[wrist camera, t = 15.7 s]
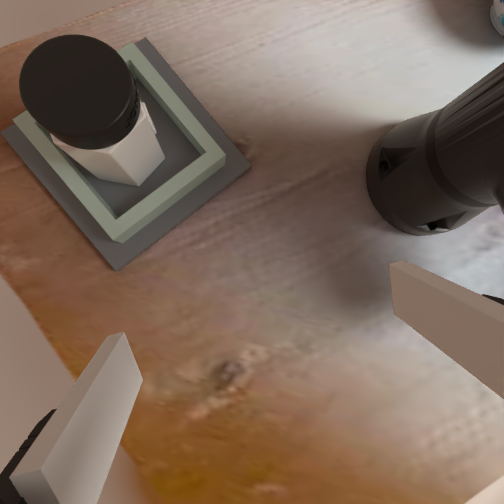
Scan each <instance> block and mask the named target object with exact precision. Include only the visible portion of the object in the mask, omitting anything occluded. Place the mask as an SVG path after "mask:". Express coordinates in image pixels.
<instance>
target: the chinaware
mask: <svg viewBox="0 0 504 504" xmlns="http://www.w3.org/2000/svg"><path fill="white" fill-rule="evenodd" d="M493 2H494V3H493V5H492V7H491V11H490V17H491V21H492V24H493V26H494V28H495V29H496V30H497V31H498V32H499V33H500V34H501V35H503V36H504V0H493Z"/></svg>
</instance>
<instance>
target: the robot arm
mask: <svg viewBox="0 0 504 504" xmlns="http://www.w3.org/2000/svg"><path fill="white" fill-rule="evenodd" d="M366 180H367V187H368V191H369V194H370V197H371V200H372V202H373V204H374V205H375V207H376V209H377V210H378V212H379V213H380V214H381V215H382V216H383V218H384V219H385V220H386V221H388V222H389V223H390V224H391V225H393V226H394V227H396V228H398V229H399V230H402V231H404V232H407V233H410V234H414V235H433V234H438V233H444V232H448V231H451V230H453V229H456V228H458V227H460V226H462V225H463V224H465V223H466V222H468V221H469V220H471V219H472V218H474V217H475V216H477V215H478V214H480V213H481V212H483V211H484V210H486V209H487V208H489V207H491V206H494V205H498V204H499V205H500V207H501V209H502V212H503V213H504V63H502V64H501V65H500V66H498V67H497V68H496V69H494V70H493V71H492V72H490V73H489V74H488V75H486V76H485V77H484V78H482V79H481V80H480V81H478V82H477V83H476V84H474V85H473V86H472V87H470V88H469V89H468V90H466V91H465V92H464V93H462V94H461V95H460V96H458V97H457V98H456V99H454V100H453V101H452V102H450V103H449V104H448V105H446V106H445V107H444V108H442V109H439V110H436V111H433V112H430V113H426V114H423V115H420V116H417V117H414V118H411V119H408V120H405V121H403V122H401V123H400V124H398V125H396V126H395V127H394V128H392V129H391V130H390V131H389V132H387V133H386V134H385V135H384V136H383V137H382V138H381V139H380V140H379V141H378V142H377V143H376V145H375V146H374V148H373V150H372V152H371V154H370V157H369V160H368V164H367V171H366ZM389 270H390V280H391V291H392V301H393V311H394V314H395V315H397V316H398V317H399V318H400V319H402V320H403V321H404V322H406V323H407V324H408V325H409V326H411V327H412V328H413V329H414V330H416V331H417V332H418V333H420V334H421V335H422V336H423V337H425V338H426V339H427V340H429V341H430V342H431V343H432V344H434V345H435V346H436V347H438V348H439V349H440V350H441V351H443V352H444V353H445V354H447V355H448V356H449V357H450V358H452V359H453V360H454V361H456V362H457V363H458V364H459V365H461V366H462V367H463V368H464V369H466V370H467V371H468V372H470V373H471V374H472V375H473V376H475V377H476V378H477V379H479V380H480V381H481V382H482V383H484V384H485V385H486V386H488V387H489V388H490V389H491V390H493V391H494V392H495V393H497V394H498V395H499V396H500V397H502V398H503V399H504V299H501V298H497V297H493V296H489V295H485V294H483V295H480V294H478V293H475V292H473V291H471V290H469V289H466V288H464V287H462V286H460V285H458V284H455V283H453V282H451V281H449V280H447V279H444V278H442V277H440V276H438V275H435V274H433V273H431V272H429V271H427V270H424V269H422V268H420V267H418V266H416V265H413V264H411V263H409V262H407V261H404V260H402V261H398V262H394V263H390V264H389ZM142 381H143V379H142V376H141V374H140V371H139V368H138V366H137V363H136V361H135V358H134V356H133V353H132V351H131V348H130V345H129V343H128V340H127V338H126V335H125V333H124V332H120V333H116V334H112V335H108V336H107V338H106V339H105V340H104V342H103V343H102V345H101V346H100V348H99V349H98V351H97V352H96V353H95V355H94V356H93V358H92V359H91V361H90V362H89V363H88V365H87V366H86V368H85V369H84V371H83V372H82V374H81V375H80V376H79V378H78V379H77V381H76V382H75V384H74V385H73V386H72V388H71V389H70V391H69V392H68V394H67V395H66V397H65V398H64V400H63V401H62V402H61V404H60V405H59V407H58V408H57V409H54V410H51V411H50V412H49V413H48V414H47V415H46V416H45V417H44V418H43V419H42V420H41V421H40V422H38V424H37V425H36V426H35V428H34V429H33V430H32V432H31V433H30V435H29V436H28V439H27V440H25V441H24V443H23V444H22V445H21V447H20V448H19V451H17V452H16V453H15V455H14V456H13V458H12V459H11V460H10V462H9V463H8V464H7V466H6V467H5V468H4V470H3V471H2V473H1V474H0V504H97V502H98V499H99V496H100V493H101V491H102V488H103V485H104V482H105V480H106V477H107V474H108V472H109V469H110V467H111V464H112V461H113V458H114V456H115V453H116V450H117V448H118V445H119V442H120V440H121V437H122V434H123V432H124V429H125V426H126V424H127V421H128V418H129V416H130V413H131V410H132V408H133V405H134V402H135V399H136V397H137V394H138V391H139V389H140V386H141V383H142Z"/></svg>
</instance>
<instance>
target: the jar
mask: <svg viewBox="0 0 504 504" xmlns="http://www.w3.org/2000/svg"><path fill="white" fill-rule="evenodd" d="M19 89H20V95H21V98H22V101H23V103H24V105H25V107H26V109H27V111H28V112H29V113H30V115H31V116H32V117H33V118H34V119H35V120H36V121H37V122H38V123H39V124H40V125H41V126H43V127H44V128H45V129H46V130H47V131H49V132H50V135H51V137H52V140H53V142H54V143H55V144H56V145H57V146H58V147H60V148H61V149H62V150H63V151H65V152H66V153H67V154H68V155H70V156H71V157H72V158H73V159H75V160H76V161H77V162H78V163H80V164H81V165H82V166H83V167H85V168H86V169H87V170H88V171H90V172H91V173H92V174H93V175H95V176H96V177H97V178H98V179H101V180H106V181H112V182H117V183H122V184H128V185H133V186H140V185H141V184H142V183H143V182H144V181H145V180H146V179H147V178H148V177H149V175H150V174H151V173H152V172H153V171H154V170H155V169H156V168H157V167H158V166H159V165H160V163H161V162H162V161H163V160H164V159H165V155H164V153H163V150H162V147H161V145H160V142H159V139H158V137H157V134H156V133H157V132H156V129H155V127H154V124H153V122H152V119H151V117H150V114H149V112H148V109H147V107H146V105H145V103H144V102H143V100H142V98H141V96H140V94H139V91H138V87H137V85H136V82H135V79H134V77H133V75H132V73H131V71H130V69H129V68H128V66H127V64H126V63H125V61H124V60H123V58H122V57H121V56H120V55H119V54H118V53H117V52H116V51H115V50H114V49H113V48H112V47H110V46H109V45H108V44H106V43H104V42H102V41H100V40H98V39H95V38H92V37H89V36H84V35H63V36H58V37H55V38H52V39H49V40H47V41H45V42H44V43H42V44H40V45H39V46H38V47H36V48H35V49H34V50H33V51H32V52H31V53H30V55H29V56H28V57H27V59H26V60H25V62H24V64H23V67H22V69H21V73H20V79H19Z"/></svg>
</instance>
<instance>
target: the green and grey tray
mask: <svg viewBox="0 0 504 504" xmlns="http://www.w3.org/2000/svg"><path fill="white" fill-rule="evenodd" d="M116 52H117V53H118V54H119V55H120V56H121V57H122V58H123V60H124V61H125V63H126V64H127V66H128V68H129V69H130V71H131V73H132V75H133V77H134V79H135V82H136V85H137V87H138V91H139V94H140V96H141V98H142V100H143V102H144V103H145V105H146V107H147V109H148V112H149V114H150V117H151V119H152V122H153V124H154V127H155V129H156V132H157V133H156V134H157V137H158V139H159V142H160V145H161V147H162V150H163V153H164V155H165V159H164V160H163V161H162V162H161V163H160V165H159V166H158V167H157V168H156V169H155V170H154V171H153V172H152V173H151V174H150V175H149V177H148V178H147V179H146V180H145V181H144V182H143V183H142V184H141V185H140V186H133V185H128V184H122V183H117V182H112V181H106V180H101V179H98V178H97V177H96V176H95V175H93V174H92V173H91V172H90V171H88V170H87V169H86V168H85V167H83V166H82V165H81V164H80V163H78V162H77V161H76V160H75V159H73V158H72V157H71V156H70V155H68V154H67V153H66V152H65V151H63V150H62V149H61V148H60V147H58V146H57V145H56V144H55V143H54V142H53V140H52V137H51V135H50V132H49V131H47V130H46V129H45V128H44V127H43V126H41V125H40V124H39V123H38V122H37V121H36V120H35V119H34V118H33V117H32V116H31V115H30V113H29V112H28V111H27V110H26V111H25V112H23V113H21V114H20V115H18V116H17V117H15V118H14V119H12V120H13V121H14V124H12V125H11V126H9V127H8V128H6V129H5V130H3V131H2V132H0V134H1V135H2V136H3V137H4V139H5V140H6V141H7V142H8V143H9V145H10V146H11V147H12V148H13V149H14V150H15V152H16V153H17V154H18V155H19V156H20V158H21V159H22V160H23V161H24V162H25V164H26V165H27V166H28V167H29V168H30V170H31V171H32V172H33V173H34V174H35V176H36V177H37V178H38V179H39V180H40V181H41V183H42V184H43V185H44V186H45V187H46V189H47V190H48V191H49V192H50V193H51V195H52V196H53V197H54V198H55V199H56V201H57V202H58V203H59V204H60V205H61V207H62V208H63V209H64V210H65V211H66V212H67V214H68V215H69V216H70V217H71V218H72V220H73V221H74V222H75V223H76V224H77V226H78V227H79V228H80V229H81V230H82V232H83V233H84V234H85V235H86V236H87V238H88V239H89V240H90V241H91V242H92V243H93V245H94V246H95V247H96V248H97V249H98V251H99V252H100V253H101V254H102V255H103V257H104V258H105V259H106V260H107V261H108V263H109V264H110V265H111V266H112V267H113V269H114V270H115V271H120V270H121V269H122V268H124V267H125V266H126V265H127V264H129V263H130V262H131V261H133V260H134V259H135V258H136V257H138V256H139V255H140V254H142V253H143V252H144V251H145V250H147V249H148V248H149V247H151V246H152V245H153V244H154V243H156V242H157V241H158V240H160V239H161V238H162V237H163V236H165V235H166V234H167V233H169V232H170V231H171V230H172V229H174V228H175V227H176V226H177V225H179V224H180V223H181V222H183V221H184V220H185V219H186V218H188V217H189V216H190V215H192V214H193V213H194V212H195V211H197V210H198V209H199V208H201V207H202V206H203V205H204V204H206V203H207V202H208V201H210V200H211V199H212V198H213V197H215V196H216V195H217V194H219V193H220V192H221V191H222V190H224V189H225V188H226V187H227V186H229V185H230V184H231V183H233V182H234V181H235V180H236V179H238V178H239V177H240V176H242V175H243V174H244V173H245V172H247V171H248V170H249V169H251V166H252V165H251V164H250V163H249V162H248V160H247V159H246V158H245V157H244V156H243V154H242V153H241V152H240V151H239V150H238V148H237V147H236V146H235V145H234V143H233V142H232V141H231V140H230V139H229V137H228V136H227V135H226V134H225V133H224V131H223V130H222V129H221V128H220V127H219V125H218V124H217V123H216V122H215V120H214V119H213V118H212V117H211V116H210V114H209V113H208V112H207V111H206V110H205V108H204V107H203V106H202V105H201V103H200V102H199V101H198V100H197V99H196V97H195V96H194V95H193V94H192V93H191V91H190V90H189V89H188V88H187V87H186V85H185V84H184V83H183V82H182V80H181V79H180V78H179V77H178V76H177V74H176V73H175V72H174V71H173V70H172V68H171V67H170V66H169V65H168V63H167V62H166V61H165V60H164V59H163V57H162V56H161V55H160V54H159V53H158V51H157V50H156V49H155V48H154V47H153V45H152V44H151V43H150V42H149V40H148V39H147V38H146V37H145V38H144V39H142V40H141V41H139V42H138V43H136V44H134V43H133V42H130V43H129V44H127V45H126V46H124V47H123V48H121V49H120V50H118V51H116Z"/></svg>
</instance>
